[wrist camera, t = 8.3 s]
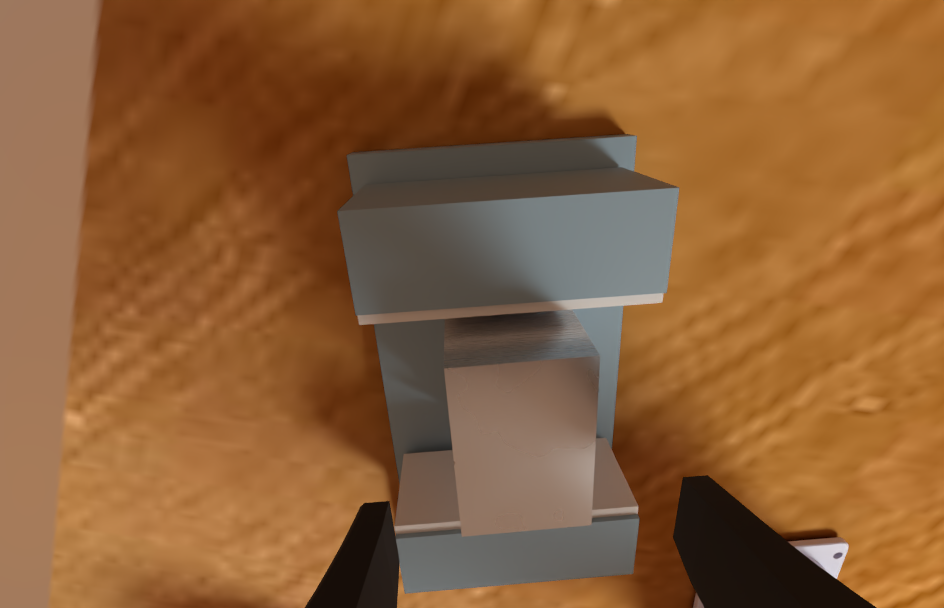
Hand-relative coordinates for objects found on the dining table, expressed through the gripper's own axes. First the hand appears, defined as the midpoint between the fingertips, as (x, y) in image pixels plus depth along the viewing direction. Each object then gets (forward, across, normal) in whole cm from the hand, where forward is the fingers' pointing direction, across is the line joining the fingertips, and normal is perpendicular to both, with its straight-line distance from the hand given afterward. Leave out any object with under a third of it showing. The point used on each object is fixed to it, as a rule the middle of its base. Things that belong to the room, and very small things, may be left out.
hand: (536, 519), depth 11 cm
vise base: (+9, 0, +2) cm, 10 cm away
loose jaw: (+8, 0, +6) cm, 10 cm away
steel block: (+8, 0, 0) cm, 8 cm away
